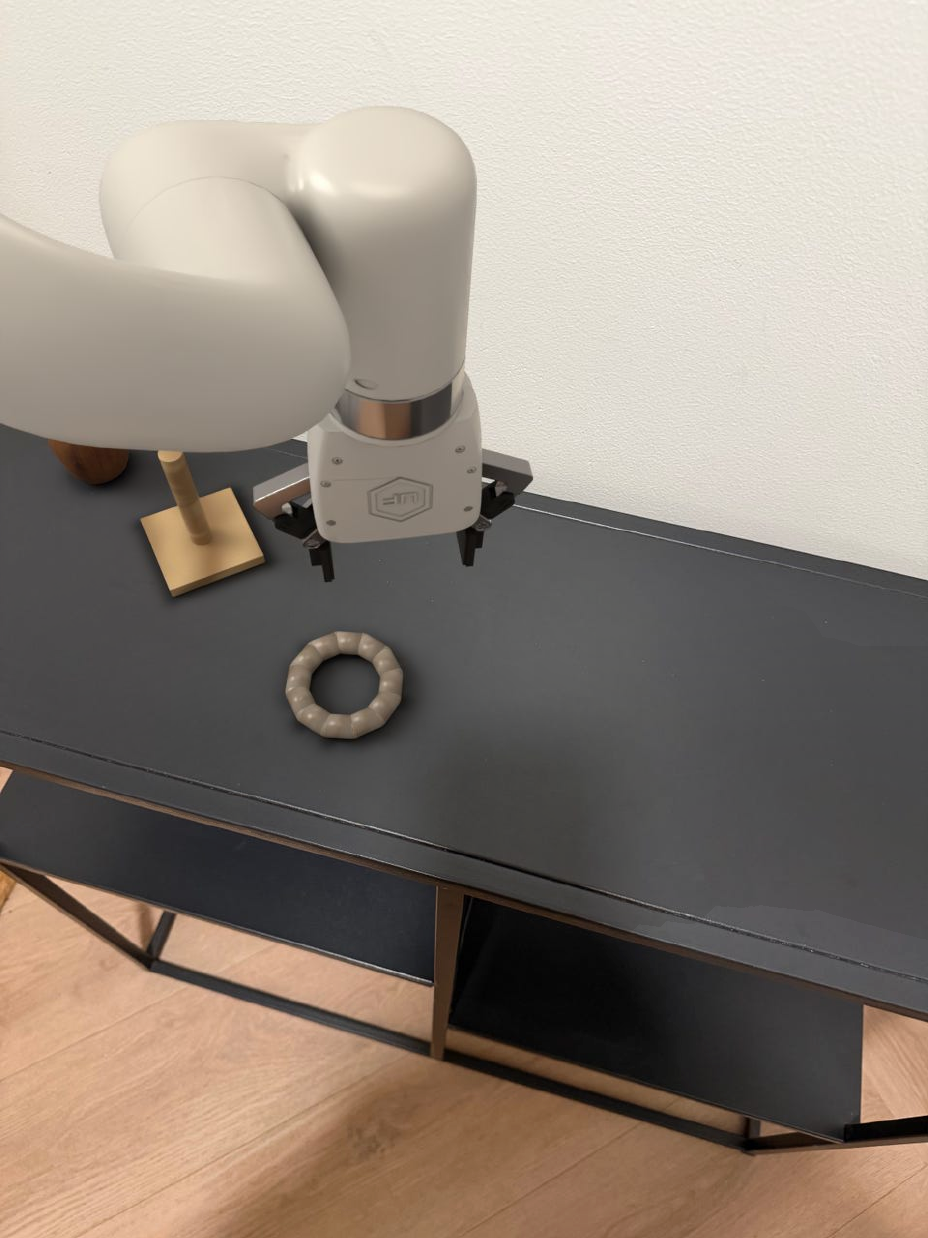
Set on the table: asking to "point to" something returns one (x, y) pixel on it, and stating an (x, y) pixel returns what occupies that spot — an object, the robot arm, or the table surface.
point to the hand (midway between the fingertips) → (396, 557)
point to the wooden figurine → (90, 461)
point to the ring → (341, 723)
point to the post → (199, 532)
